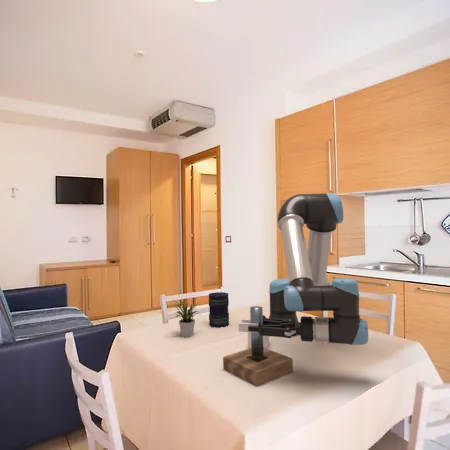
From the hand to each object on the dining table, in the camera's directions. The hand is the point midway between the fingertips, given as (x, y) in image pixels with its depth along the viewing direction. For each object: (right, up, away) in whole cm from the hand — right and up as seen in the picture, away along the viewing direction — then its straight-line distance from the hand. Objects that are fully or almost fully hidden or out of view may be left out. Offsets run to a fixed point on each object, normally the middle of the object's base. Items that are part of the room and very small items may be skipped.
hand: (240, 325), depth 109 cm
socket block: (+5, -14, -1) cm, 15 cm away
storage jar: (-8, -16, +51) cm, 54 cm away
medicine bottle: (+8, -15, +21) cm, 27 cm away
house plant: (-23, -16, +37) cm, 46 cm away
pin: (+5, -9, -2) cm, 10 cm away
